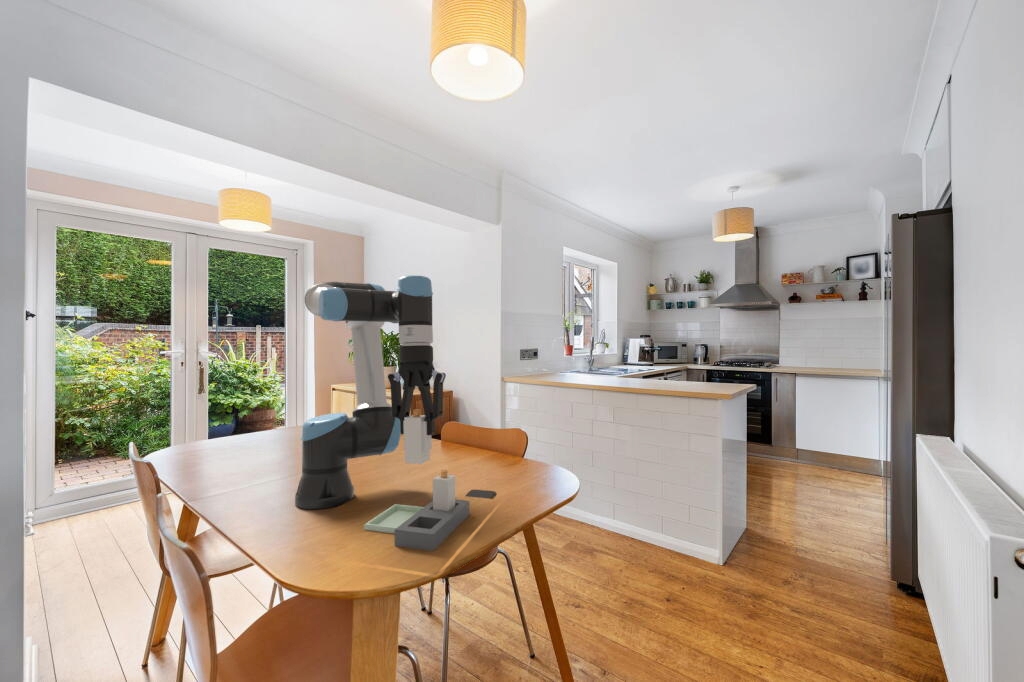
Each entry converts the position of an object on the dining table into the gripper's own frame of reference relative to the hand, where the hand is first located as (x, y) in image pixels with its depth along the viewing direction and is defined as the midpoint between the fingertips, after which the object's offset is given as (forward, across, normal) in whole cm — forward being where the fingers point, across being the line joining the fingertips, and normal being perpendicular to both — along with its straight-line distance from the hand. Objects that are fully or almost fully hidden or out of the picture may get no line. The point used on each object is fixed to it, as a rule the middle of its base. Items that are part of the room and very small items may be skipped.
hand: (417, 449), depth 98 cm
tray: (+19, -9, +6) cm, 22 cm away
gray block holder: (+20, +2, +4) cm, 20 cm away
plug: (+3, 0, 0) cm, 3 cm away
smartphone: (+20, +4, +25) cm, 32 cm away
